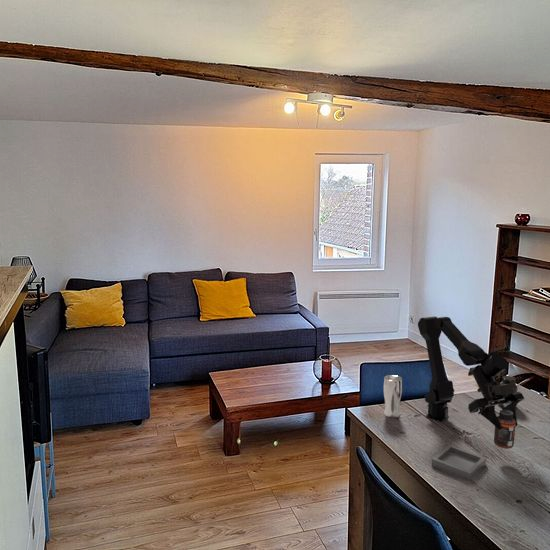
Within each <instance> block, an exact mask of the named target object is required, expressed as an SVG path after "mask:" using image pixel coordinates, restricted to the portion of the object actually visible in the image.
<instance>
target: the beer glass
mask: <svg viewBox="0 0 550 550" xmlns="http://www.w3.org/2000/svg"><path fill="white" fill-rule="evenodd" d="M402 379H403V378H402V377H401V376H398V375H394V374H388V375H385V376H384V378H383V380H384V381H383V397H384V411H383V415H384V416H385V417H387V418H390V417H391V419H394V418H398V417H400V415H401V414H400V402H401V398H402V393H403V382H402V381H403V380H402Z"/></svg>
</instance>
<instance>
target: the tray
mask: <svg viewBox="0 0 550 550" xmlns="http://www.w3.org/2000/svg"><path fill="white" fill-rule="evenodd" d="M486 465H487V457H485V456H483V455H479V454H478V453H477V454H476V453H473V452H471V451H468V450H465V449H463V448H460V447H458V446H454V445H451V444H448V445H447V446H446V447H445V448H443V449H442V450H441V451H439V452H438V453H437V454H436V455H435V456H433V457H432V458H431V467H433V468H435V467H436V468H435V469H438V470H441V471H443V472H446V473H448V474H450V475H453V476H455V477H458V478H461V479H463V480H466V481H469V482H470V481H472V480H473V479H474V478H475V477H476V476H477V475H478V474H479V473H480V472H481V471H482V470H483V468H485V466H486Z"/></svg>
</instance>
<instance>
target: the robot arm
mask: <svg viewBox="0 0 550 550" xmlns="http://www.w3.org/2000/svg"><path fill="white" fill-rule="evenodd" d="M417 328H418V330H419V334H420V336H421V337H422V338H423V340H424V341H425V345H426V350H427V355H428V356H427V357H428V361H429V366H430V367H429V368H430V373H431V381H430V383H429V391H428V392H427V393H426V394H424V401H425V402H426V403H427V404H428V405H427V406H428V408H427V414H426V415H425V418H427V419H431V420H435V421H438V422H440V423H441V422H443V421H444V420H446V419H447V418H449V407H448V403H452V400H453V397H454V396H455V389H454V383H453V381H452V380H449V379H448V378H447V376H446V371H445V365H444V360H443V356H442V354H443V353H442V350H441V343H440V336H441V334H442V333H443V334H444V336H446V338H447V339H448V340H449V341H450V342H451V343H452V345H453V346H454V347H455V348H456V350H457V353H458V357H459V359H460V360H461V362H462V363H463V365H465V366H466V367H467V366H468V367H469V369H468V370H469V371H468V373H467V375H468V376H469V377H470V376H472V377H473V378H474V381H475V383H476V384H477V387H478V388H477V389H476V390H477V392H478V393H481V394H482V396H483V397H481V398H476V399H474V400H473V401H471V402H469V403H468V407H467V409H468V411H469V413H470V414H475V413H477V414H478V415H481V416H482V417H483V418H485V419H486V420H488V422H489V423H491V424H492V425H493V426H494V427H495V426H496V427H497V428H498V429H499V430H501V429H502V427H501V424H500V422H499V420H498V418H497V416H498V415H497V413H496V406H499V405H500V404H503V405H504V408H502V407H501V410H509V411H511V412H512V413H513V419H514V420H515V421H516V426H515V428H516V427H518V419H517V405H518V404H519V403H520V402H522V401H524V400H525V397H524V395H523V393H522V392H520V391H518V390H517V387H518V386H517V384H516V381H515V382H514V381H513V380H510V381H506V384H503V385H501V384H500V383H501V381H499V380H495V377H497V376H498V375H500V374H501V373H503V372H504V371H505V370H507V368H508V367H509V362H508V360H507V359H506V358H505V356H504V355H502V354H499V353H498V351H497V350H493V351H490V352H489V353H487V352H485V350H484V349H483V348H482V347H480V346H479V345H478V344H476V343H474V342H472V341H470V340H469V339H468V338H467V337H466V336H465V335H464V334H463V332H461V330H460V329H459V328H458V327H457V326H456V324H454V323H453V322H452V318H450V317H449V316H440V317H438V316H427V317H420V318H419V319H418V321H417ZM470 366H474V367H470ZM514 390H517V392H515V393H514ZM508 394H509V395H508ZM506 395H507V396H506ZM504 396H506V397H504ZM503 397H504V398H503ZM498 401H500V402H498Z"/></svg>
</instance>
